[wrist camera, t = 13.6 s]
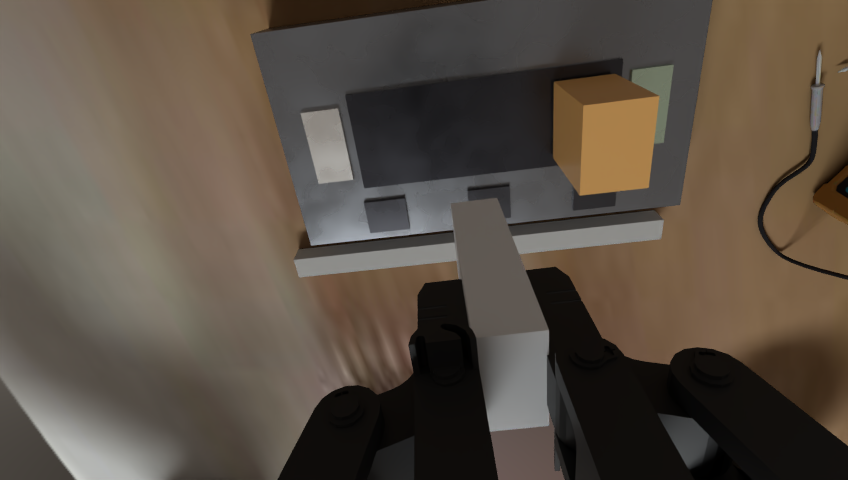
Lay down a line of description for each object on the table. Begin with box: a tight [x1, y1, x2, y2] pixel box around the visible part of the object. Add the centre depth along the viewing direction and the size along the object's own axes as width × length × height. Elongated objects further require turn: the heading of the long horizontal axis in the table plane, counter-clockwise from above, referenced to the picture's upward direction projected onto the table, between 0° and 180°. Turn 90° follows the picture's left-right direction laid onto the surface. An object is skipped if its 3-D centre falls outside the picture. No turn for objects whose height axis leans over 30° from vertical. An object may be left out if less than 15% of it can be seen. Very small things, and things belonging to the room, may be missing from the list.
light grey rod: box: [294, 210, 664, 277], centre depth 31 cm, size 24×1×1 cm, turn 97°
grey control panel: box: [250, 0, 712, 246], centre depth 26 cm, size 22×12×3 cm, turn 97°
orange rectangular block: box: [553, 74, 659, 196], centre depth 22 cm, size 3×4×5 cm
